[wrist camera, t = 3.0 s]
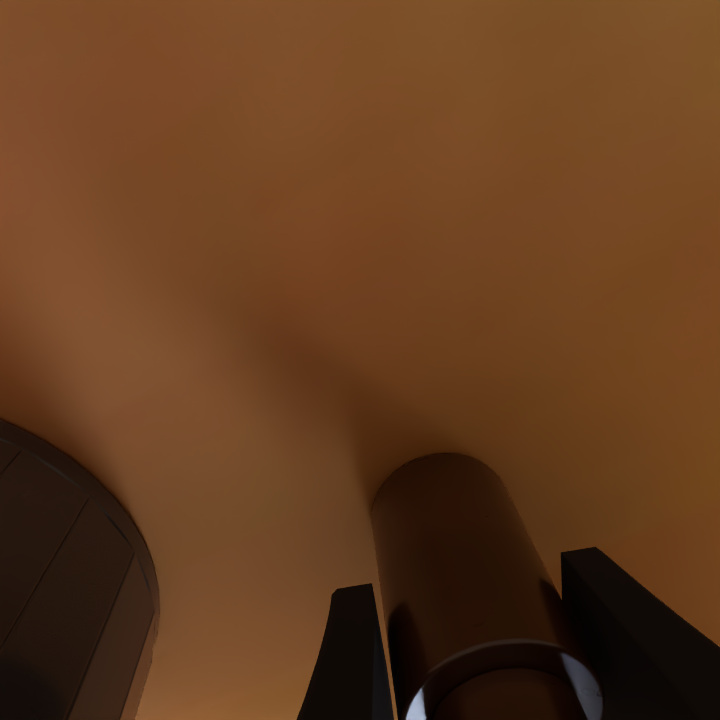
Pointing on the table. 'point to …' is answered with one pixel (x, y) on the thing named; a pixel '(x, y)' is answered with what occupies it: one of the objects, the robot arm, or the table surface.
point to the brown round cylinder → (69, 591)
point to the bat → (473, 603)
